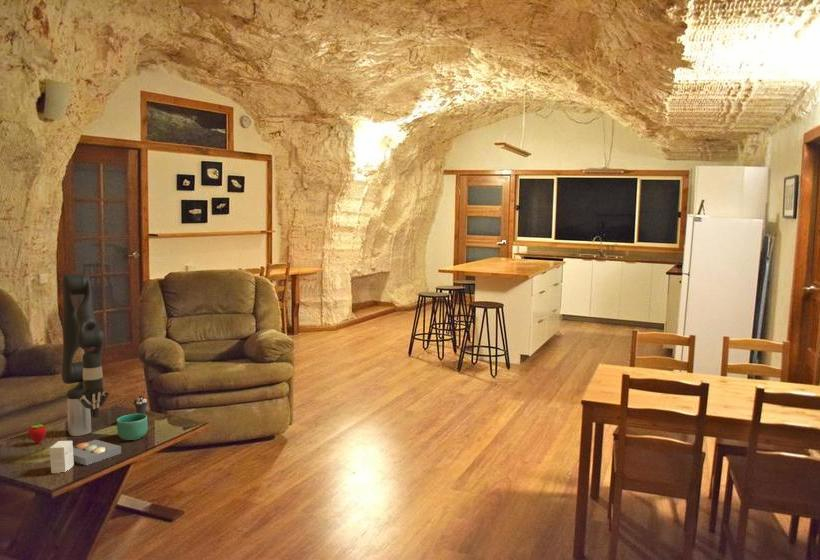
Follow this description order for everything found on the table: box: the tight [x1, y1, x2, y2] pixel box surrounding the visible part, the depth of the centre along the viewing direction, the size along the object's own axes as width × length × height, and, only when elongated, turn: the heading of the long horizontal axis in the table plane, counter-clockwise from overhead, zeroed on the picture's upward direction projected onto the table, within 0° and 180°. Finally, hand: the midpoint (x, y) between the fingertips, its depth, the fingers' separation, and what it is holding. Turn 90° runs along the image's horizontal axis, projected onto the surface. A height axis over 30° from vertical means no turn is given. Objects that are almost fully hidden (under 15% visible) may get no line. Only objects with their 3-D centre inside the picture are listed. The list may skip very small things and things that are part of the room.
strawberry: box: [27, 423, 48, 445], centre depth 289 cm, size 6×8×10 cm
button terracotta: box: [76, 442, 89, 449], centre depth 277 cm, size 5×5×4 cm
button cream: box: [93, 447, 105, 454], centre depth 272 cm, size 5×5×4 cm
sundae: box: [132, 391, 149, 415], centre depth 318 cm, size 7×7×15 cm
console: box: [73, 439, 122, 466], centre depth 274 cm, size 17×16×3 cm
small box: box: [49, 440, 75, 474], centre depth 259 cm, size 8×6×10 cm
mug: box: [116, 413, 149, 441], centre depth 297 cm, size 17×13×10 cm
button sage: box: [85, 445, 97, 452], centre depth 274 cm, size 5×5×4 cm
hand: (94, 416), depth 278 cm, fingers closed
